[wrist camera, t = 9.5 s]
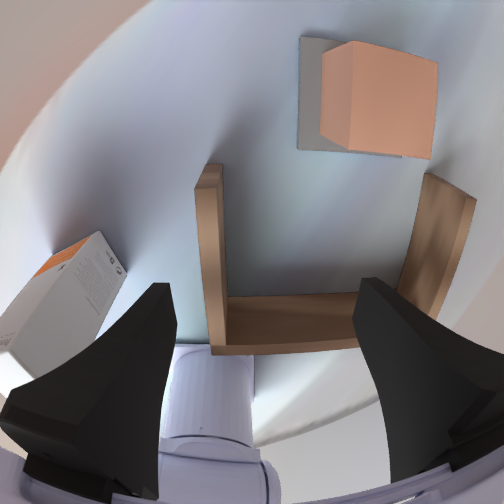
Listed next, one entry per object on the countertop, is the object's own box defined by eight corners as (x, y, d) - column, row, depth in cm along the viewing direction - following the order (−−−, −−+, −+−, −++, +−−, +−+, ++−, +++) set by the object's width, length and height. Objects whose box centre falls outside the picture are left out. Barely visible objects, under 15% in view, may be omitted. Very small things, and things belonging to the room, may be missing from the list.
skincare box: (100, 226, 19) (8, 349, 9) (129, 274, 21) (70, 409, 11) (49, 254, 20) (-32, 361, 10) (76, 295, 22) (16, 408, 12)
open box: (403, 297, 24) (427, 336, 19) (215, 307, 23) (211, 355, 19) (434, 174, 18) (476, 199, 14) (205, 164, 18) (194, 188, 13)
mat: (397, 156, 18) (401, 158, 17) (296, 148, 17) (298, 149, 17) (403, 56, 14) (408, 56, 14) (299, 38, 14) (300, 36, 13)
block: (386, 141, 16) (430, 159, 12) (319, 134, 16) (348, 149, 12) (391, 66, 14) (438, 62, 10) (322, 53, 14) (353, 40, 9)
